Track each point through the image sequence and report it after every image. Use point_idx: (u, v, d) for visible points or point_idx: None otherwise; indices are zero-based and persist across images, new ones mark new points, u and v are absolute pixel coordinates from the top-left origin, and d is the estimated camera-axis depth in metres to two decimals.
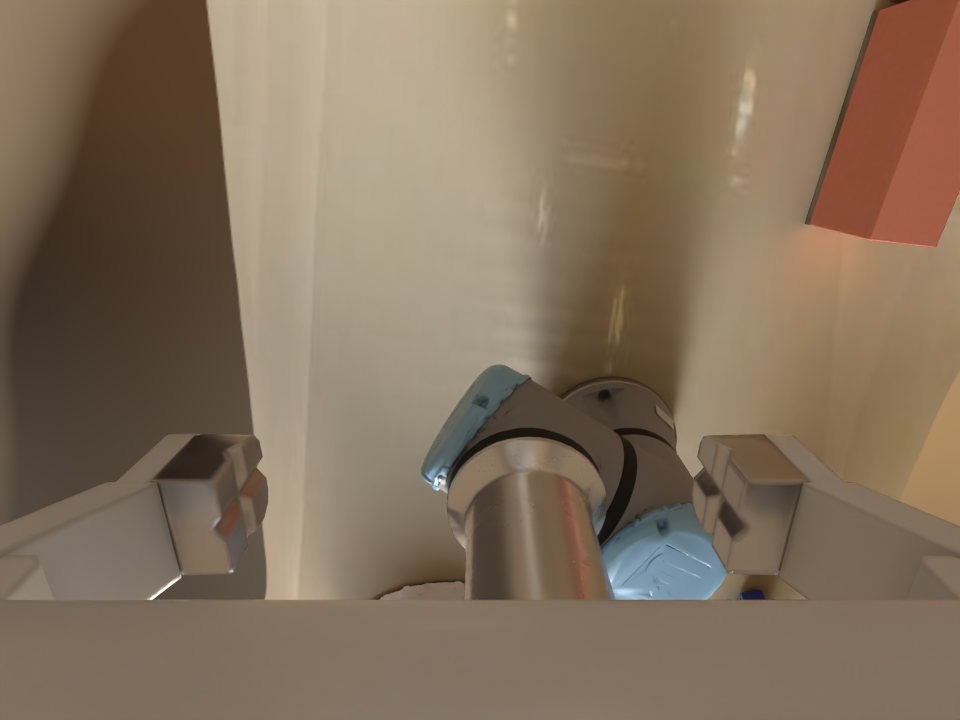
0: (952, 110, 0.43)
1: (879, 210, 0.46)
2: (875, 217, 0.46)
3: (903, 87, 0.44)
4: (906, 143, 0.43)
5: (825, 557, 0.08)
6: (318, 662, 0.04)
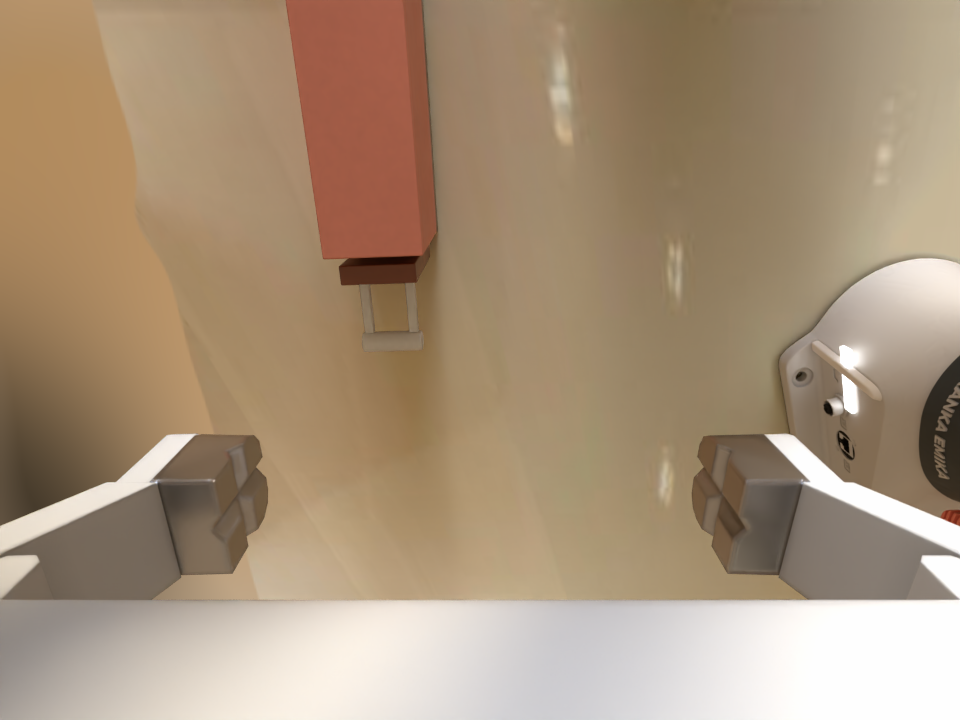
0: (360, 101, 0.29)
1: None
2: None
3: (418, 131, 0.32)
4: (404, 41, 0.28)
5: (825, 557, 0.08)
6: (318, 662, 0.04)
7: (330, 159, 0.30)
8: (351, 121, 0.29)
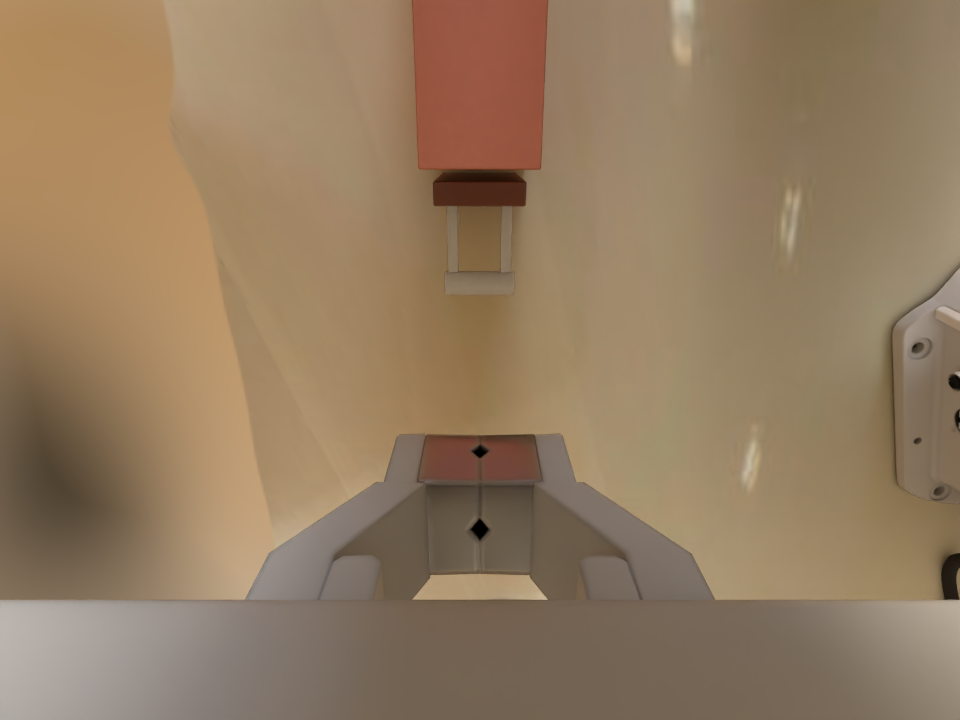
0: None
1: None
2: None
3: None
4: None
5: (553, 557, 0.08)
6: (318, 662, 0.04)
7: (441, 38, 0.24)
8: None
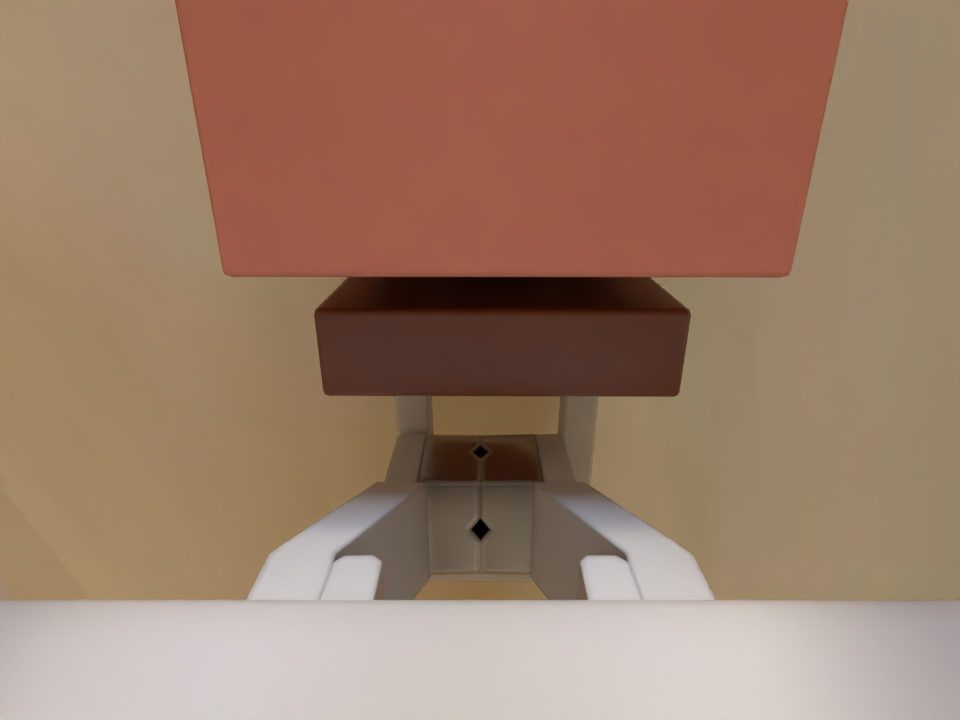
0: None
1: None
2: None
3: None
4: None
5: (554, 557, 0.08)
6: (318, 662, 0.04)
7: None
8: None
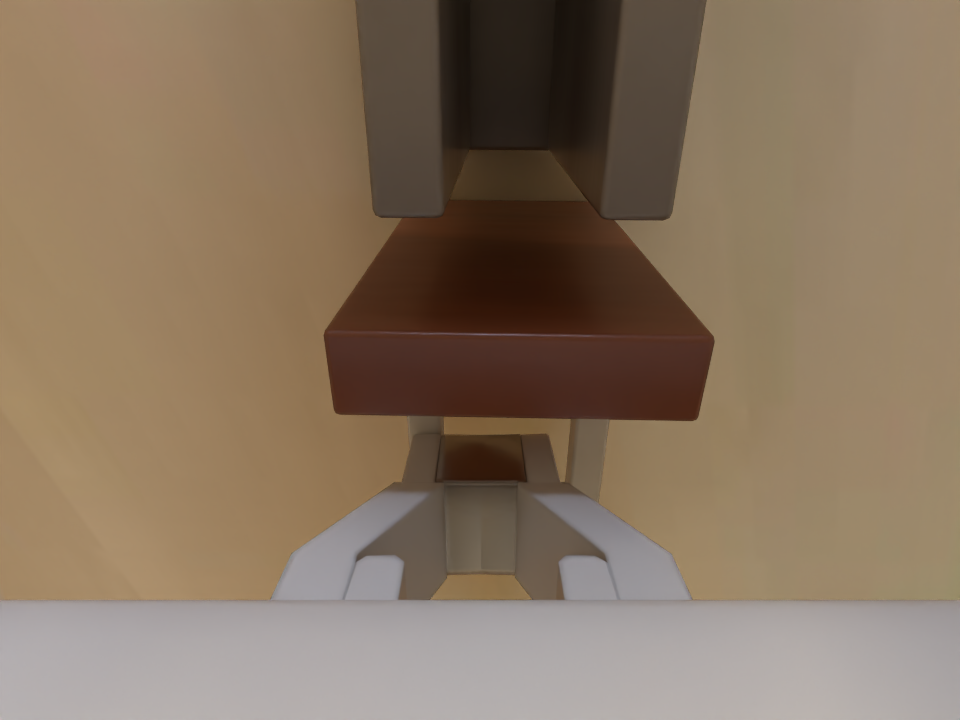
0: None
1: None
2: None
3: None
4: None
5: (537, 557, 0.08)
6: (318, 662, 0.04)
7: None
8: None
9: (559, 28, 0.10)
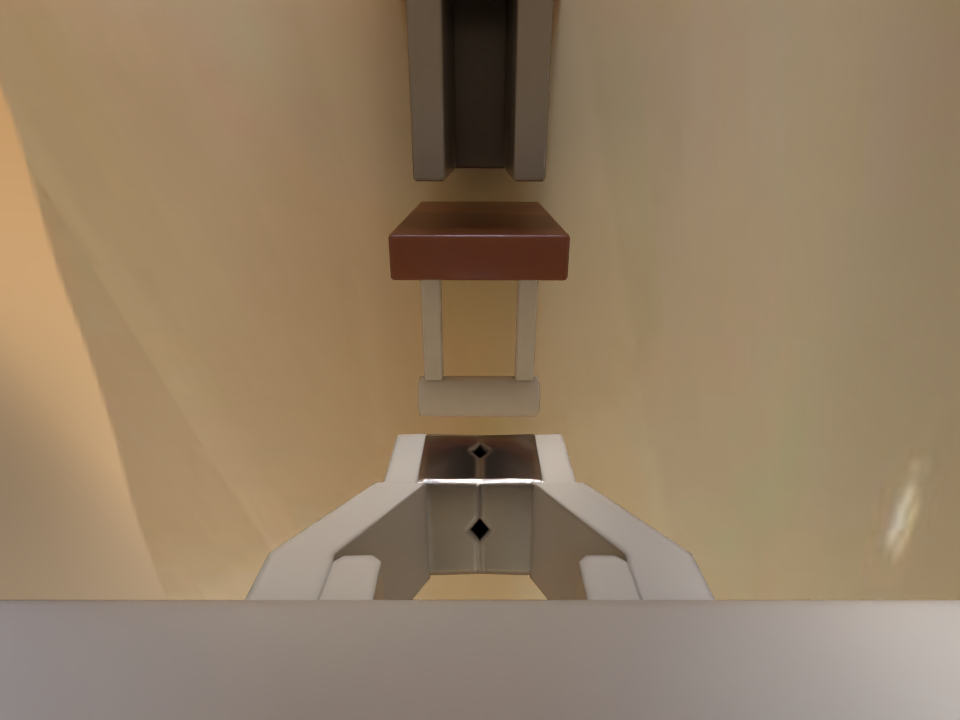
0: None
1: None
2: None
3: None
4: None
5: (553, 557, 0.08)
6: (318, 662, 0.04)
7: None
8: None
9: (505, 98, 0.18)
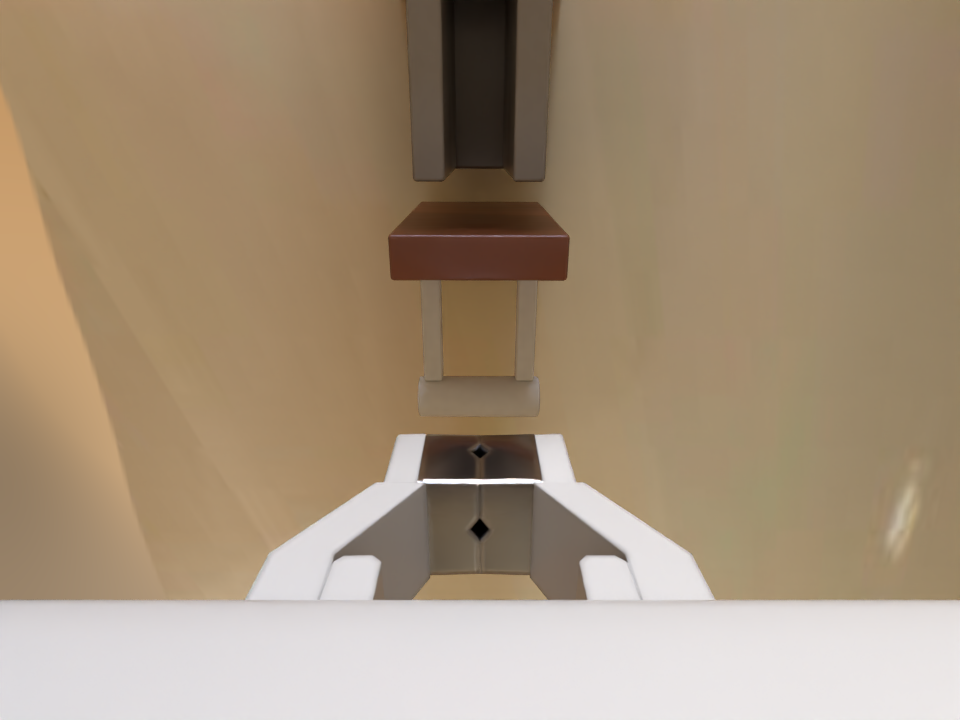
0: None
1: None
2: None
3: None
4: None
5: (553, 557, 0.08)
6: (318, 662, 0.04)
7: None
8: None
9: (505, 98, 0.18)
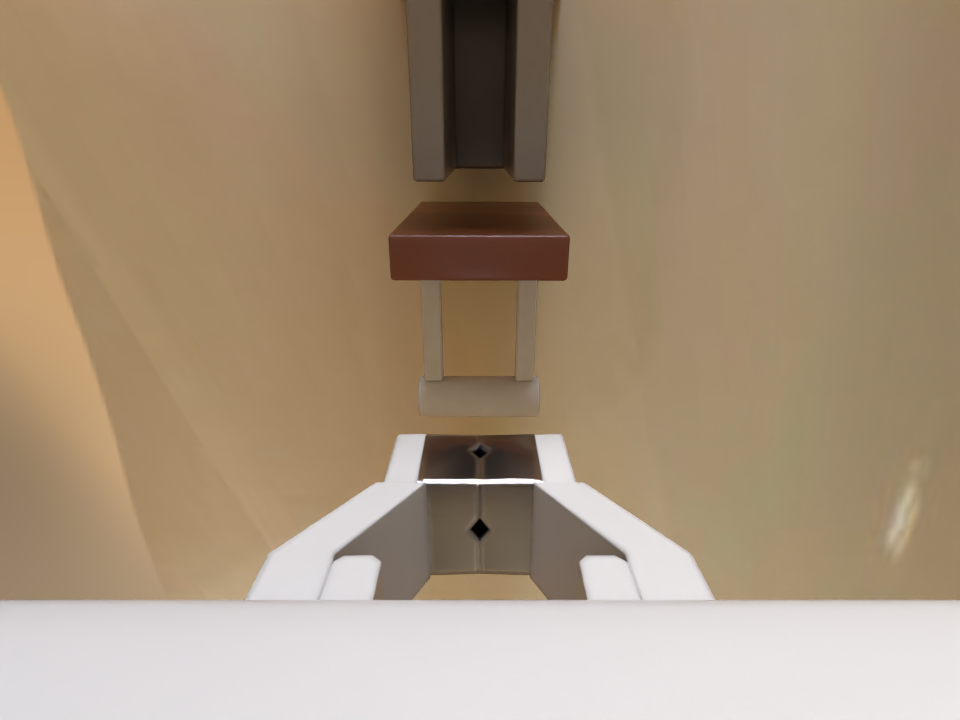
0: None
1: None
2: None
3: None
4: None
5: (553, 557, 0.08)
6: (318, 662, 0.04)
7: None
8: None
9: (505, 98, 0.18)
